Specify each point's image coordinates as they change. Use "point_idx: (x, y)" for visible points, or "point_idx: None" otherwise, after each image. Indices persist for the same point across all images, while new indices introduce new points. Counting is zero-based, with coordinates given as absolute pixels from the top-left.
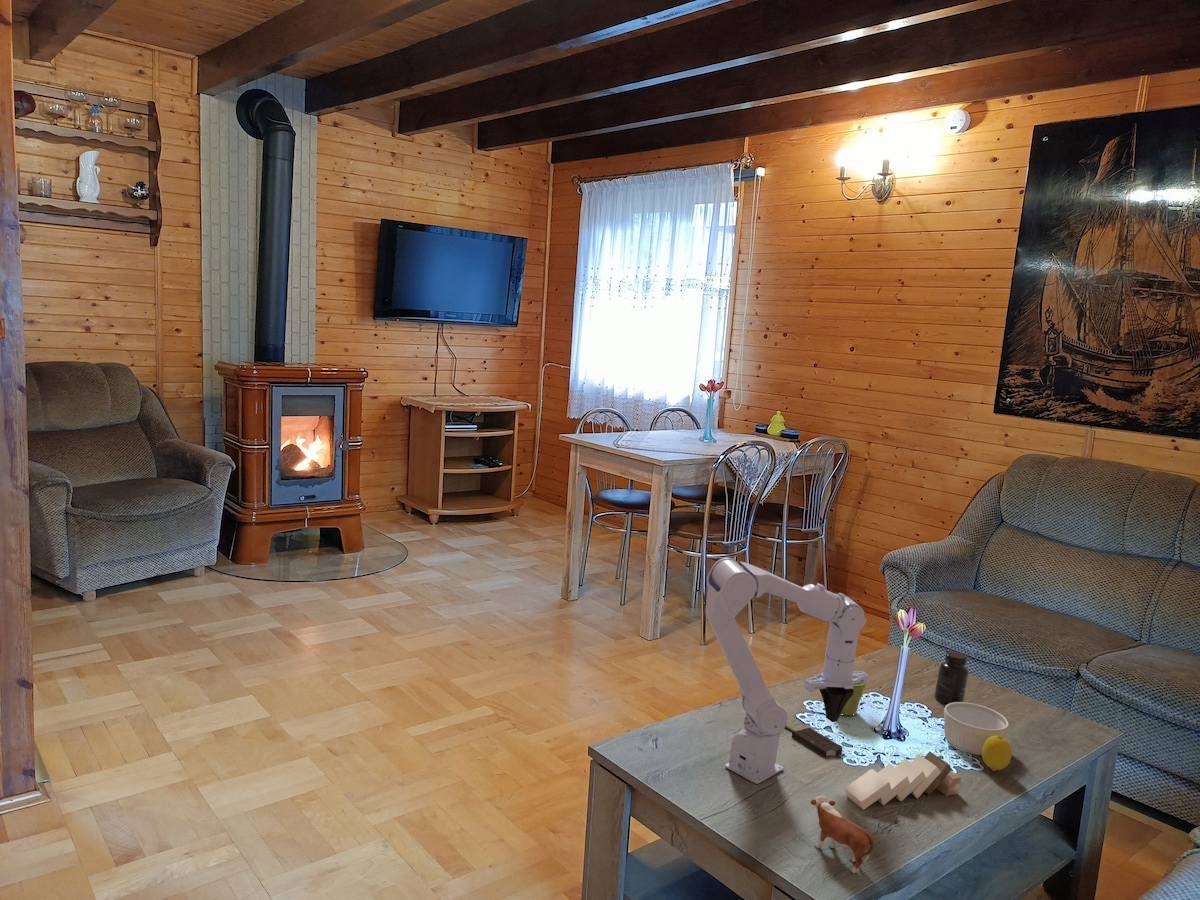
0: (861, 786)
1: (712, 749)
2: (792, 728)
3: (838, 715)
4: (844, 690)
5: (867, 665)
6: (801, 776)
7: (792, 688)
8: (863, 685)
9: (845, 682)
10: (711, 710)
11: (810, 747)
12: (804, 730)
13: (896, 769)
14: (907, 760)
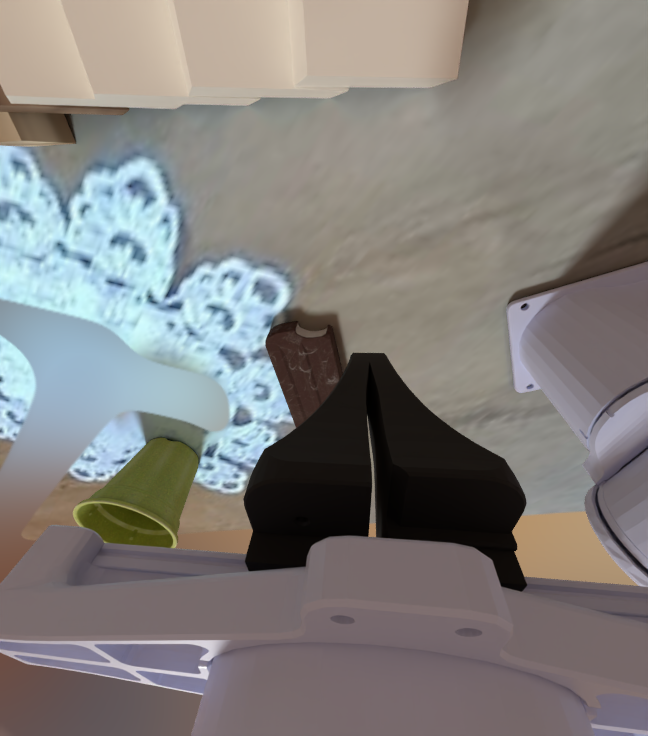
0: (413, 6)
1: None
2: None
3: (359, 366)
4: (347, 513)
5: None
6: (481, 258)
7: (237, 519)
8: (95, 498)
9: (433, 677)
10: None
11: (340, 369)
12: None
13: (181, 5)
14: (86, 67)
